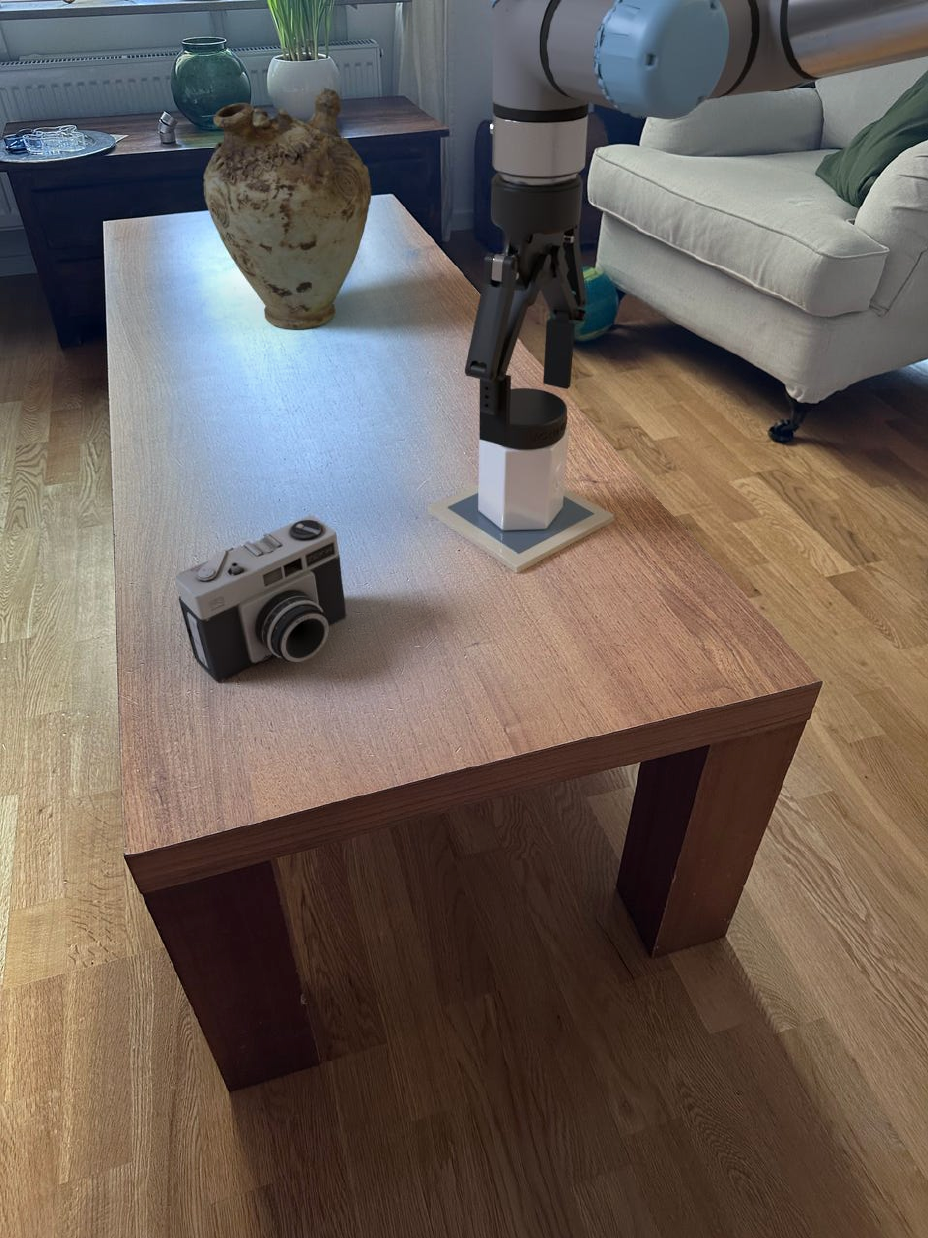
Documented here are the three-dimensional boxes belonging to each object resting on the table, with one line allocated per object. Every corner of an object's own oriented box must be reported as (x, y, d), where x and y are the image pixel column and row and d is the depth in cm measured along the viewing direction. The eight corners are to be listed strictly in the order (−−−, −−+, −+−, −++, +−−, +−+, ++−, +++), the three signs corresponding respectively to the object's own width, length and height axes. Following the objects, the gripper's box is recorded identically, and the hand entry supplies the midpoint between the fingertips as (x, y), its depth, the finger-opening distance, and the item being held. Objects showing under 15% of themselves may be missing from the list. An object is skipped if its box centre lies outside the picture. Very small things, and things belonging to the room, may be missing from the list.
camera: (226, 710, 72) (201, 613, 66) (188, 650, 78) (162, 557, 72) (375, 647, 78) (365, 553, 72) (328, 597, 84) (315, 506, 78)
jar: (539, 542, 89) (547, 435, 81) (467, 521, 92) (467, 416, 84) (572, 498, 95) (581, 395, 87) (503, 480, 98) (506, 379, 90)
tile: (613, 521, 93) (614, 514, 93) (516, 573, 86) (517, 566, 86) (522, 469, 101) (523, 462, 101) (427, 513, 94) (427, 505, 94)
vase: (403, 331, 129) (367, 96, 109) (243, 361, 126) (178, 127, 107) (378, 280, 146) (344, 70, 127) (238, 306, 144) (181, 96, 124)
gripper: (559, 138, 82) (547, 357, 95) (417, 203, 65) (427, 458, 79) (636, 146, 79) (612, 371, 93) (508, 217, 62) (501, 479, 76)
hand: (527, 411), depth 86 cm, fingers open, 13 cm apart
